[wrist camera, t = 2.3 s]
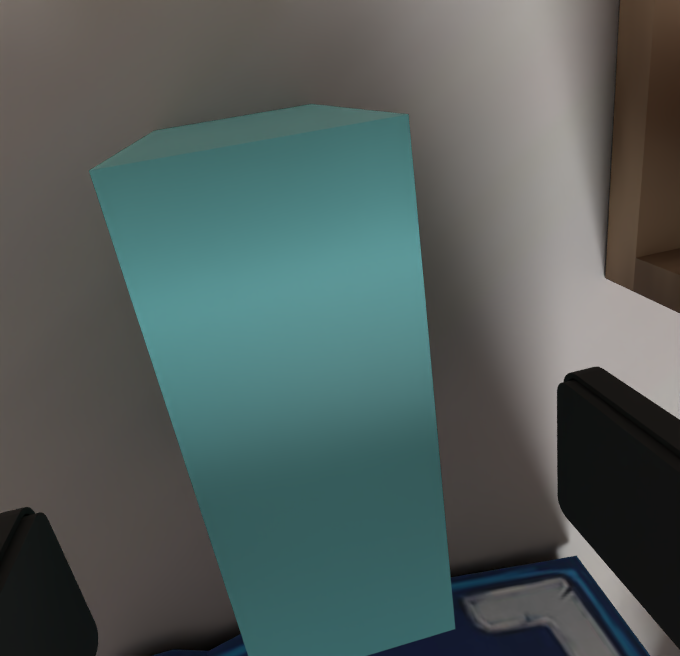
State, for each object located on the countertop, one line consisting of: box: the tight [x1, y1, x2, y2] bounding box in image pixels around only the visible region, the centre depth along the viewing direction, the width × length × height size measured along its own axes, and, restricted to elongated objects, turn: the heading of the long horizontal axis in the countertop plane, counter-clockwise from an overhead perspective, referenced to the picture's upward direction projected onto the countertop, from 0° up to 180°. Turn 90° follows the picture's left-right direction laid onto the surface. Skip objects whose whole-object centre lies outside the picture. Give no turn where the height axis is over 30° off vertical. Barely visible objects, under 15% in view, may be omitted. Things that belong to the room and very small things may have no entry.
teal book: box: [89, 104, 455, 656], centre depth 14 cm, size 11×4×9 cm, turn 8°
